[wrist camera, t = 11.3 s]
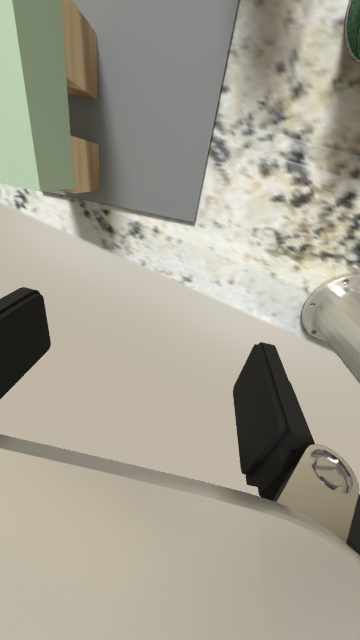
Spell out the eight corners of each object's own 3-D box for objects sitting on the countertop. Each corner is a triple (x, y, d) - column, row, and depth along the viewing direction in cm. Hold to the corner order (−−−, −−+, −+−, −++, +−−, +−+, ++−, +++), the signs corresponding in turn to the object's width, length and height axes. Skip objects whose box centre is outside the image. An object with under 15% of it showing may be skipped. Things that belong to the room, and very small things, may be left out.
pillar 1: (96, 33, 22) (58, -19, 16) (97, 100, 25) (65, 76, 19) (46, 21, 22) (-9, -35, 16) (53, 90, 25) (8, 63, 19)
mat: (268, -153, 17) (270, -163, 16) (194, 221, 32) (194, 222, 31) (-20, -227, 16) (-27, -239, 16) (41, 189, 31) (38, 190, 31)
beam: (60, -8, 17) (-1, -87, 12) (74, 188, 24) (40, 191, 19) (-7, -23, 17) (-97, -111, 12) (28, 178, 24) (-19, 179, 19)
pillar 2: (98, 144, 27) (70, 135, 21) (99, 190, 30) (74, 193, 24) (58, 135, 27) (18, 124, 21) (62, 182, 30) (28, 184, 24)
